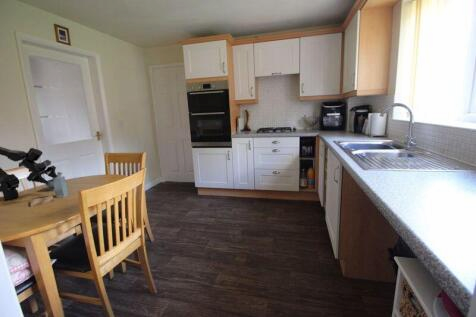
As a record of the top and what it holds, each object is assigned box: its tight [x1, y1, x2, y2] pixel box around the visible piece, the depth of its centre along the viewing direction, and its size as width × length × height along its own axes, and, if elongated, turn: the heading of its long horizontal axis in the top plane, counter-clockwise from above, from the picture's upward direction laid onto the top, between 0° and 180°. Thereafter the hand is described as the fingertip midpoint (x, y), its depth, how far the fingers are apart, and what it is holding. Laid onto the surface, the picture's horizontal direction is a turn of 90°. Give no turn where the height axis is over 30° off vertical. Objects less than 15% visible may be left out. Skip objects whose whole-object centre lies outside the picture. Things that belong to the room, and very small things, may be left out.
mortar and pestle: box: [45, 171, 63, 192], centre depth 167 cm, size 11×9×12 cm
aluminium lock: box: [51, 175, 69, 198], centre depth 152 cm, size 4×5×13 cm
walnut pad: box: [29, 195, 55, 207], centre depth 144 cm, size 11×10×1 cm
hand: (53, 181), depth 151 cm, fingers open, 9 cm apart
